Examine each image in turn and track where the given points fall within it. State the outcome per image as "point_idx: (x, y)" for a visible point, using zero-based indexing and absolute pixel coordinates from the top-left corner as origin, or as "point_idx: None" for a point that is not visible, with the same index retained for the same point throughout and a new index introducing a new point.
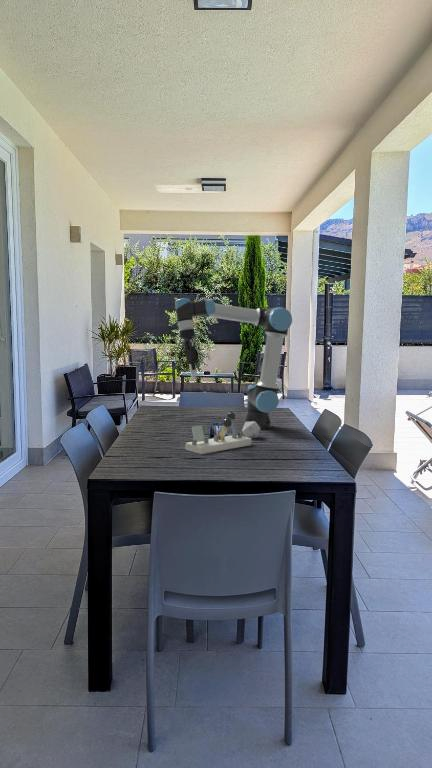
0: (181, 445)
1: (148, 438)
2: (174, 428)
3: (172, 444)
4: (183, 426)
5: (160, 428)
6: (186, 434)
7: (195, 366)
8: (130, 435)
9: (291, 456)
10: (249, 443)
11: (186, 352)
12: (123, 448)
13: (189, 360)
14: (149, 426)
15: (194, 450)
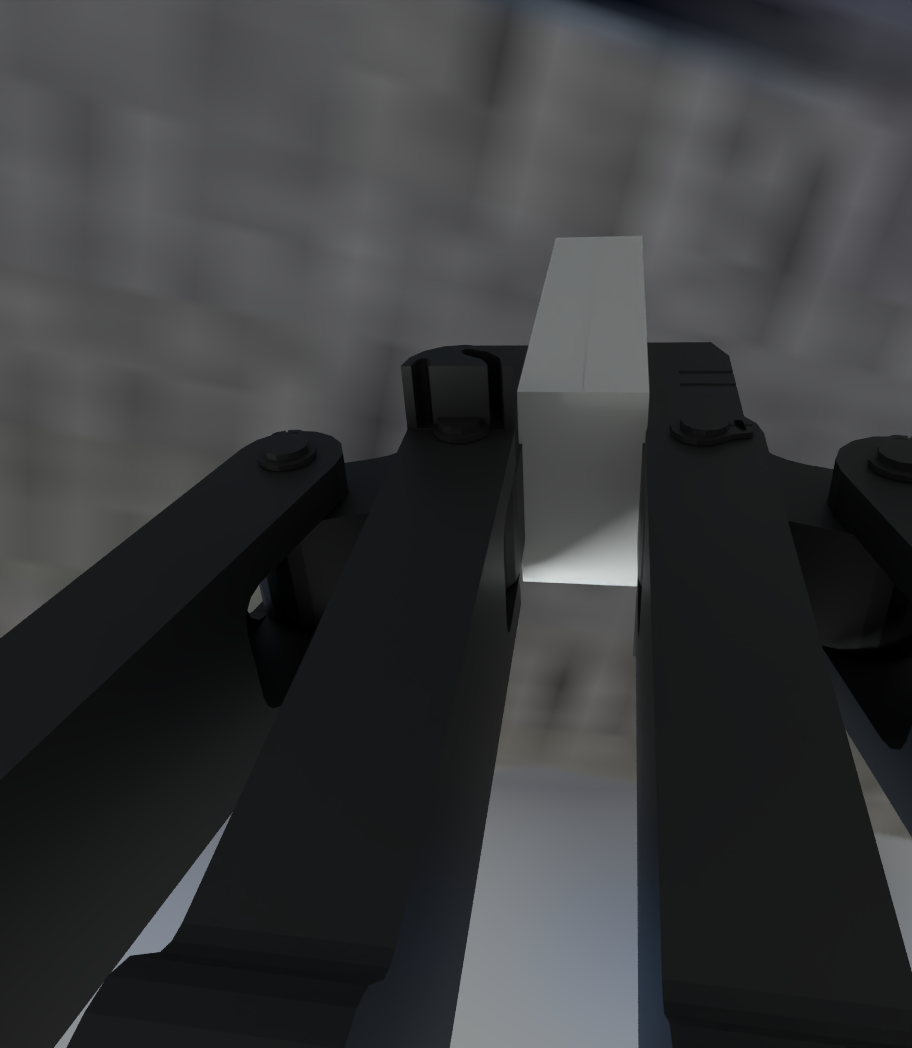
0: (898, 401)
1: (553, 599)
2: (141, 309)
3: (833, 463)
4: (29, 187)
5: (135, 441)
6: (462, 254)
7: (643, 349)
8: None
9: None
10: None
11: (46, 1011)
12: None
13: (508, 649)
14: (31, 520)
15: None
